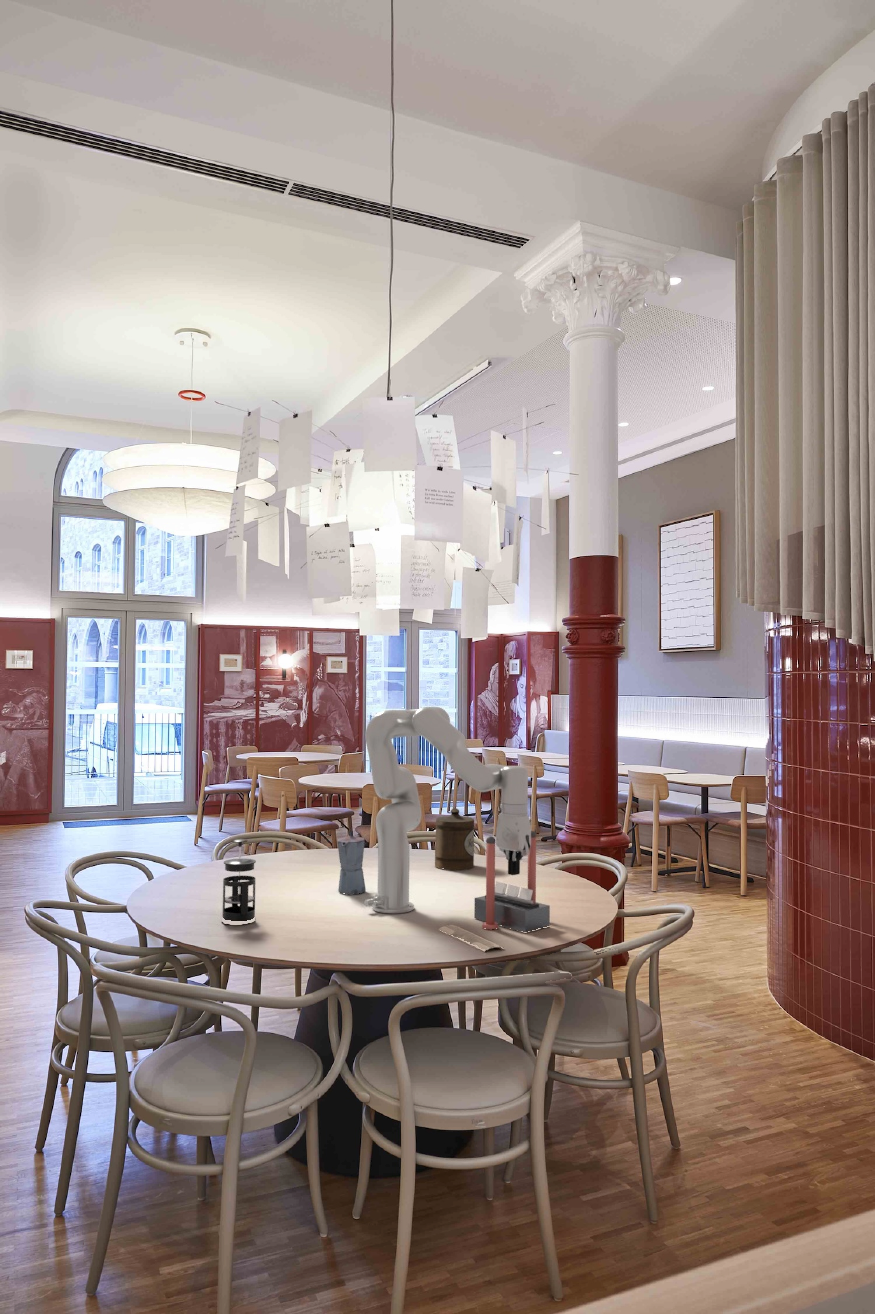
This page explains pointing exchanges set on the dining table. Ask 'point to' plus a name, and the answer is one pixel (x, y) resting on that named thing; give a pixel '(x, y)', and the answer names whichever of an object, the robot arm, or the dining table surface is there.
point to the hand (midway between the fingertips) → (513, 874)
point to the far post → (532, 866)
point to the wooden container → (454, 842)
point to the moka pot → (351, 864)
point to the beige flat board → (469, 937)
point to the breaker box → (515, 913)
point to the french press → (242, 898)
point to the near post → (490, 885)
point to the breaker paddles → (513, 892)
